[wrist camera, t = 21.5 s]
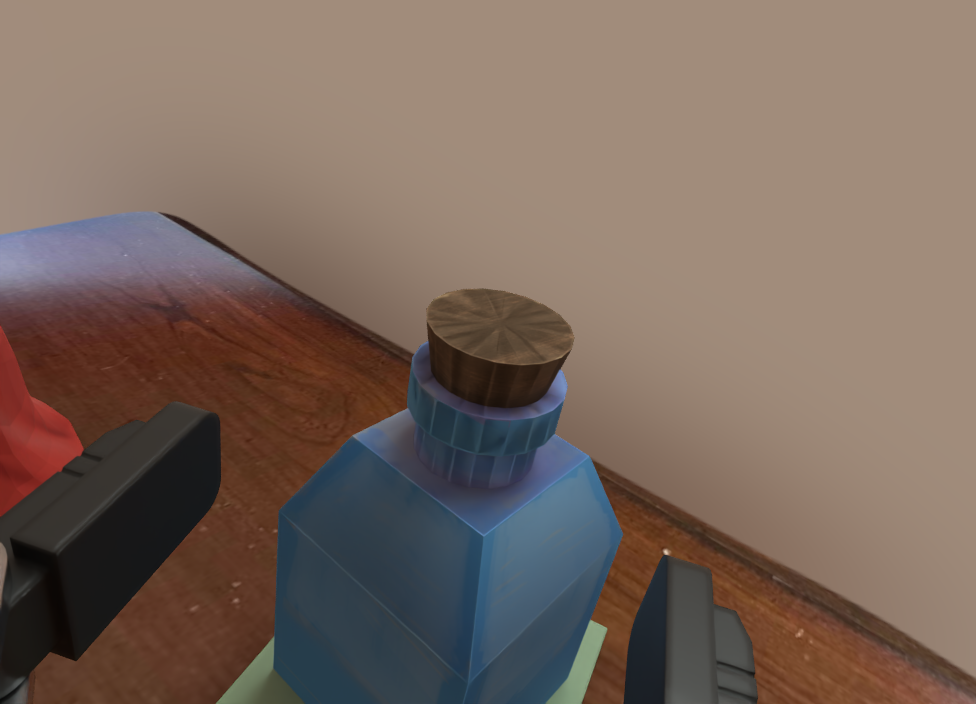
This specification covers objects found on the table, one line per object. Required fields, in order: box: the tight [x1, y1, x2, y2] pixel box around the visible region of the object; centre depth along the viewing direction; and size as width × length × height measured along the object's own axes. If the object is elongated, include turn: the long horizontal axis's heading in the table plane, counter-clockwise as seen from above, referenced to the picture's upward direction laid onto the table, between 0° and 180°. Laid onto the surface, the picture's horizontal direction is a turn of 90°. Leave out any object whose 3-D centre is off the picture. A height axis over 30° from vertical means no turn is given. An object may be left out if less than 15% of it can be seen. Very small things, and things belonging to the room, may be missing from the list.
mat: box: [216, 620, 607, 704], centre depth 21 cm, size 9×9×1 cm
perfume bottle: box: [273, 289, 623, 704], centre depth 18 cm, size 6×6×12 cm
